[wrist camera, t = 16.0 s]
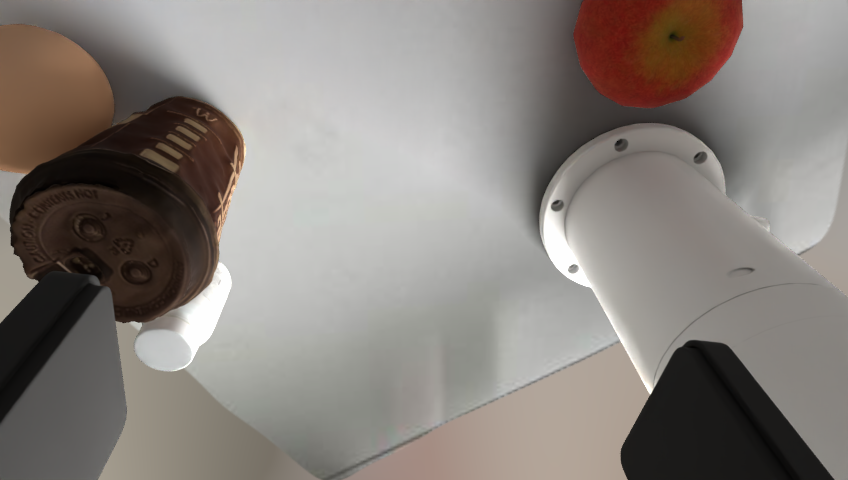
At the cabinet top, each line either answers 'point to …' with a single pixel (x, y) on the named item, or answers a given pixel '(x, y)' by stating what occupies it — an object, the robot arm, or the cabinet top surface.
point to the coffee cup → (135, 207)
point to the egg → (47, 97)
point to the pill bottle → (183, 327)
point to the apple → (655, 46)
